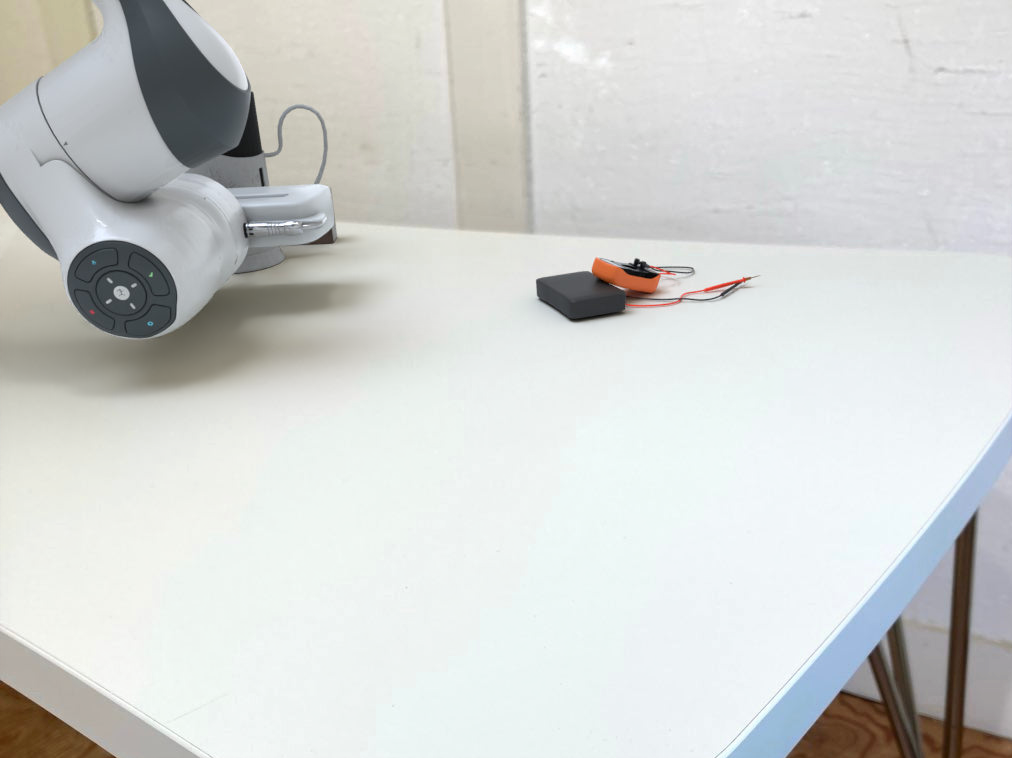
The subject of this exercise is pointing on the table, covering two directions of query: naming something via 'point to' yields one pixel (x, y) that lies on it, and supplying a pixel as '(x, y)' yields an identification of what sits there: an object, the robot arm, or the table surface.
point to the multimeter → (609, 287)
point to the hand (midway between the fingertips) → (231, 197)
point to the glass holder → (253, 175)
